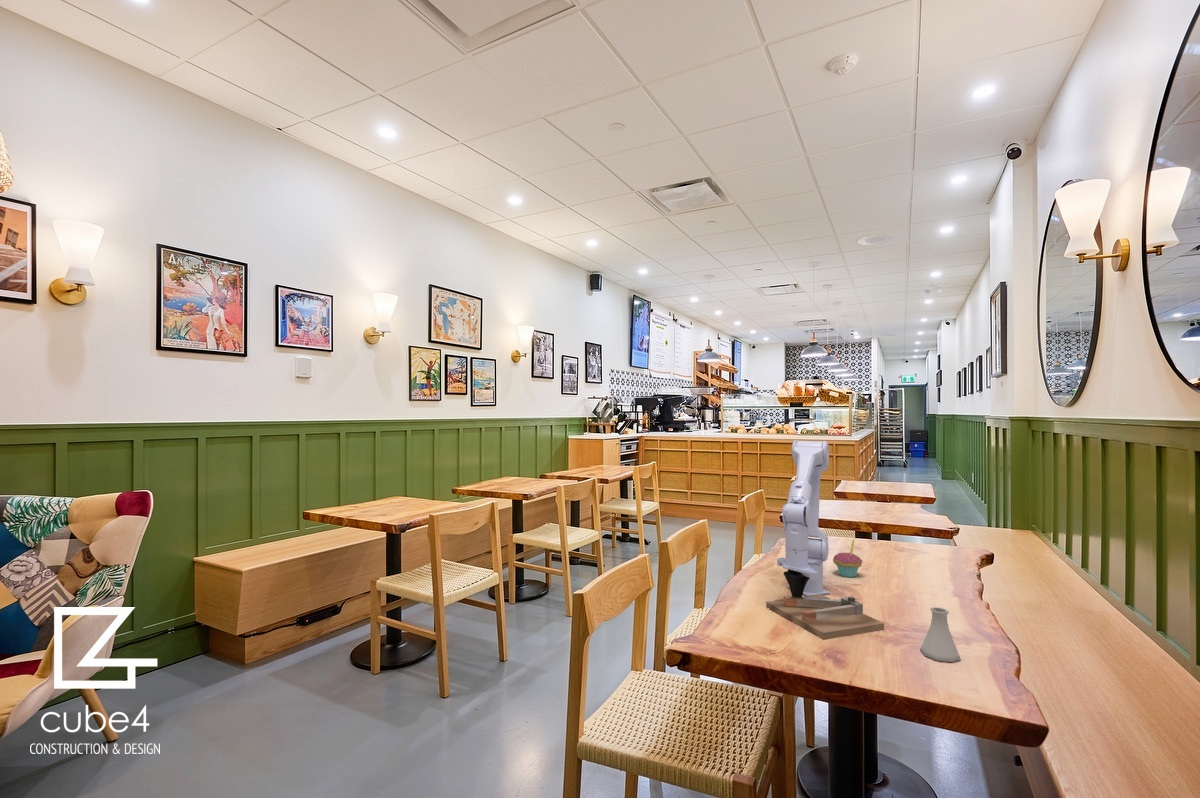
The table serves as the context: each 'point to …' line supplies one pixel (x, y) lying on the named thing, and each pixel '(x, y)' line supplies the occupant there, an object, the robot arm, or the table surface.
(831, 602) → the tong arm
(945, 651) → the flask
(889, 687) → the table surface
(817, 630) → the tongs board
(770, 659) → the table surface
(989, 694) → the table surface
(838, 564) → the cupcake
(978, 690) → the table surface
